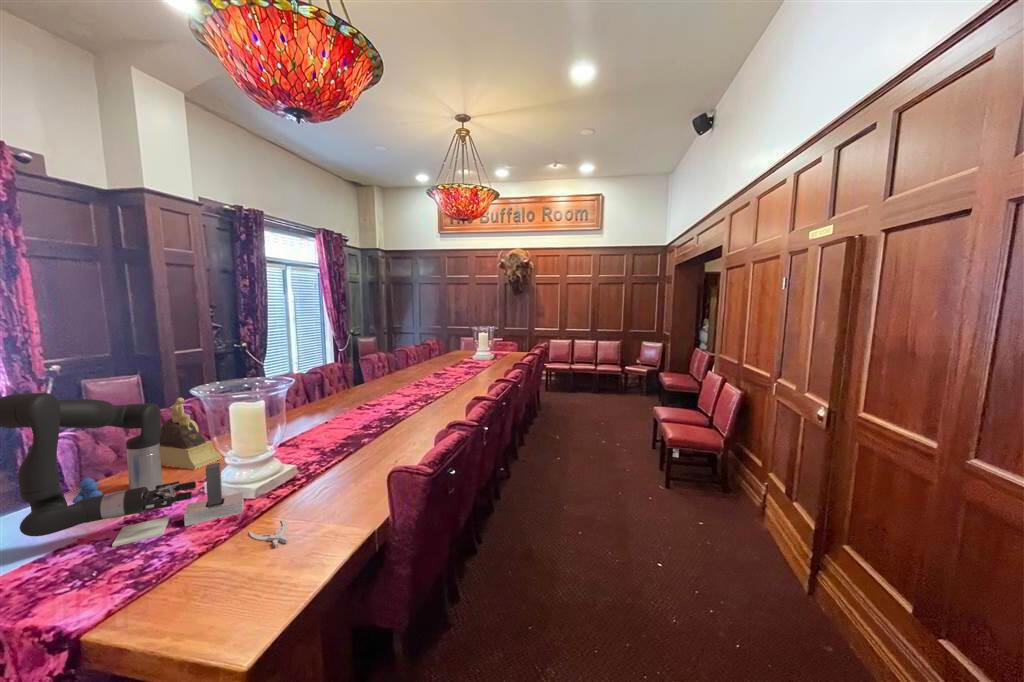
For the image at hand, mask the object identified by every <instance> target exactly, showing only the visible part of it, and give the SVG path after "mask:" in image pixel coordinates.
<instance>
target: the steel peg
mask: <svg viewBox="0 0 1024 682" xmlns="http://www.w3.org/2000/svg"><path fill="white" fill-rule="evenodd" d="M221 472H222V469H221V462H217V463H216V462H214V463H212V464H209V465H207V466H205V476H206V477H205V480H206V494H207V495H206V498H207V499H206V500H208V507H211V506H216V505H220V504H223V502H222V497H223V489H222V488H223V487H222V473H221Z"/></svg>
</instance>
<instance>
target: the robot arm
mask: <svg viewBox="0 0 1024 682" xmlns="http://www.w3.org/2000/svg"><path fill="white" fill-rule="evenodd" d="M0 427H1V428H5V429H21V428H30V430H31V433H32V443H31V446H30V449H29V451H28V453H27V454H26V455H25V457H24V459H23V460H22V462H21V463H20V464H21V465H20V466H19V468H18V475H17V481H18V486H19V489H18V490H19V495H20V497H21V500H22V501H23V502H25V503H29V506H30V509H31V510H30V513H28V514H27V515H26V516H25V517H24V518H23V519H22V521H21V523H20V524H19V531H20V532H21V534H23V535H25V536H27V537H43V536H47V535H48V536H49V535H51V534H54V533H59V532H62V531H65V530H68V529H71V528H74V527H76V526H78V525H83V524H88V523H93V522H98V521H102V520H109V519H117V518H121V517H125V516H131V515H135V514H139V513H145V512H147V511H153V510H158V509H163V508H169V507H172V506H173V504H176V503H177V502H182V501H187V500H191V499H192V497H193V494H192V493H193V492H192V491H188V490H193V489H196V487H197V484H196V481H190V482H184V483H183V482H182V483H181V482H180V481H178V480H177V481H174V482H169V483H163V470H162V469H163V466H161V452H160V435H161V428H162V412H161V408H160V406H159V405H158V404H156V403H152V402H151V403H150V402H149V403H131V404H120V405H119V404H117V405H115V404H114V405H113V403H111V402H110V401H105V400H103V399H93V398H90V399H89V398H73V399H69V398H68V399H59V398H57V397H56V396H55V395H54V394H52V393H49V392H32V393H31V392H29V393H16V394H15V393H13V394H8V395H4V396H1V397H0ZM105 427H115V428H119V429H129V430H133V429H136V430H137V429H140V434H139V435H136V436H134V437H131V438H129V439H128V440H126V442H125V446H126V447H125V448H126V459H127V475H128V487H129V489H125V490H124V489H123V490H120V491H119V490H118V491H114V492H111V493H107V494H102V495H101V496H96V497H90V498H86V499H82V500H80V501H78V502H76V503H73V504H70V505H68V501H67V500H66V499H67V498H66V497H65V495H64V493H63V491H62V489H61V486H60V485H61V484H60V476H59V471H58V461H57V460H58V455H57V454H58V446H59V445H58V443H59V437H60V428H69V429H70V428H71V429H72V428H73V429H101V428H105ZM183 491H187V492H183ZM178 492H180V493H178ZM176 493H177V494H176Z"/></svg>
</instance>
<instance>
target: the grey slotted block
mask: <svg viewBox="0 0 1024 682" xmlns="http://www.w3.org/2000/svg"><path fill="white" fill-rule="evenodd" d="M222 502H223V504H220V505H216V506H211V507H208V500H207V499H204V500H200V501H199V500H198V501H195V502H190V503H187V505H186V507H185V510H184V513H183V518H184V520H183V521H184V527H189V526H193V525H197V524H201V523H205V522H209V521H213V519H214V520H217V518H219V519H222V517H223V518H226V517H231V516H234V515H240V514H243V512H244V504H245V502H244V492H237V493H233V494H229V495H222Z"/></svg>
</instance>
